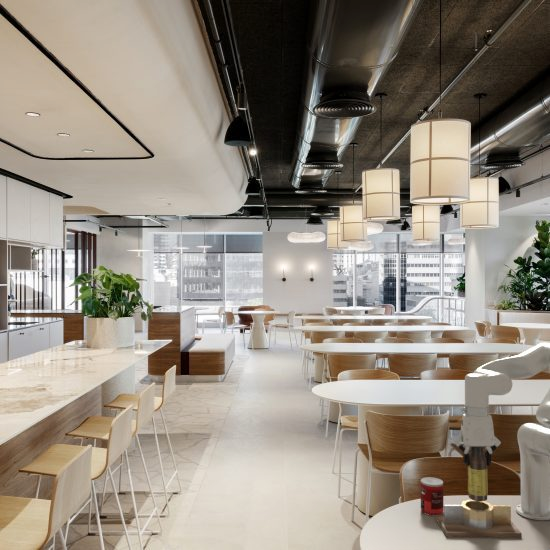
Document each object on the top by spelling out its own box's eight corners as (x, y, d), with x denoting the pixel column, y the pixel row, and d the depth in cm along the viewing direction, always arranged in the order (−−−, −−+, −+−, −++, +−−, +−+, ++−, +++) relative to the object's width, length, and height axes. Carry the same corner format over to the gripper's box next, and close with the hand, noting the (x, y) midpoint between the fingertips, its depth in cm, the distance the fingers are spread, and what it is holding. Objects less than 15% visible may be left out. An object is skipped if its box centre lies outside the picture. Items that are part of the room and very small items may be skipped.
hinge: (440, 516, 200) (440, 499, 200) (505, 517, 199) (505, 499, 199) (447, 529, 190) (447, 511, 190) (516, 530, 189) (516, 512, 189)
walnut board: (436, 518, 202) (436, 514, 202) (506, 519, 201) (506, 514, 201) (446, 537, 188) (446, 532, 188) (521, 537, 187) (521, 533, 187)
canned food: (424, 505, 213) (424, 475, 213) (446, 509, 209) (445, 479, 209) (417, 513, 207) (417, 482, 206) (440, 517, 203) (440, 486, 202)
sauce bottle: (475, 493, 199) (475, 435, 198) (491, 499, 194) (491, 439, 193) (463, 497, 195) (463, 438, 195) (480, 503, 190) (480, 443, 190)
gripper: (453, 413, 191) (454, 468, 191) (507, 413, 190) (507, 468, 190) (447, 408, 198) (448, 460, 198) (499, 408, 197) (499, 460, 198)
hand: (477, 464), depth 194 cm, fingers closed on sauce bottle, 6 cm apart
